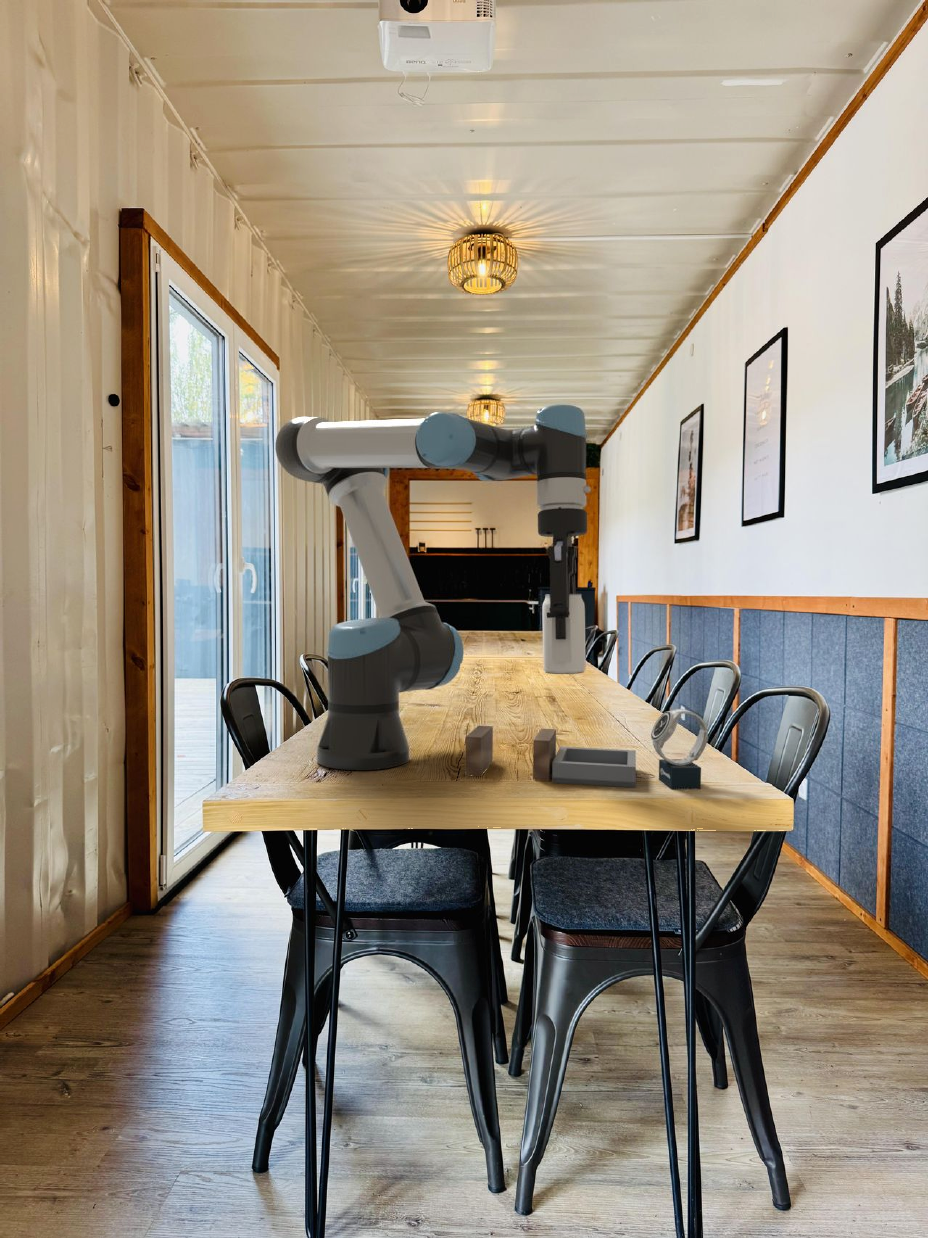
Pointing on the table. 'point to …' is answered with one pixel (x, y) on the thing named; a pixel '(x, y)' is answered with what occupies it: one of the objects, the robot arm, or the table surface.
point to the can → (577, 638)
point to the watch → (678, 770)
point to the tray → (595, 767)
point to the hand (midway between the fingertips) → (564, 659)
